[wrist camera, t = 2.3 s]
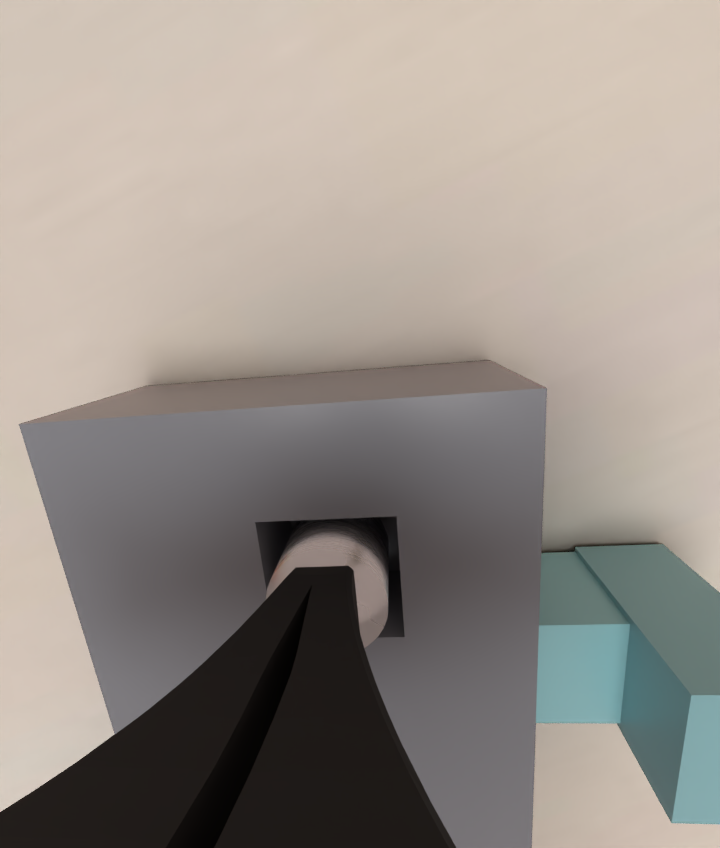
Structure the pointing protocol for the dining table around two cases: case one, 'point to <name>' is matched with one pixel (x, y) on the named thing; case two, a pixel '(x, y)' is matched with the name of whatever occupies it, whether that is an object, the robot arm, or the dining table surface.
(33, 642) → the dining table surface
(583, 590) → the cartridge
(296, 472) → the housing
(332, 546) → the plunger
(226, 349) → the dining table surface
